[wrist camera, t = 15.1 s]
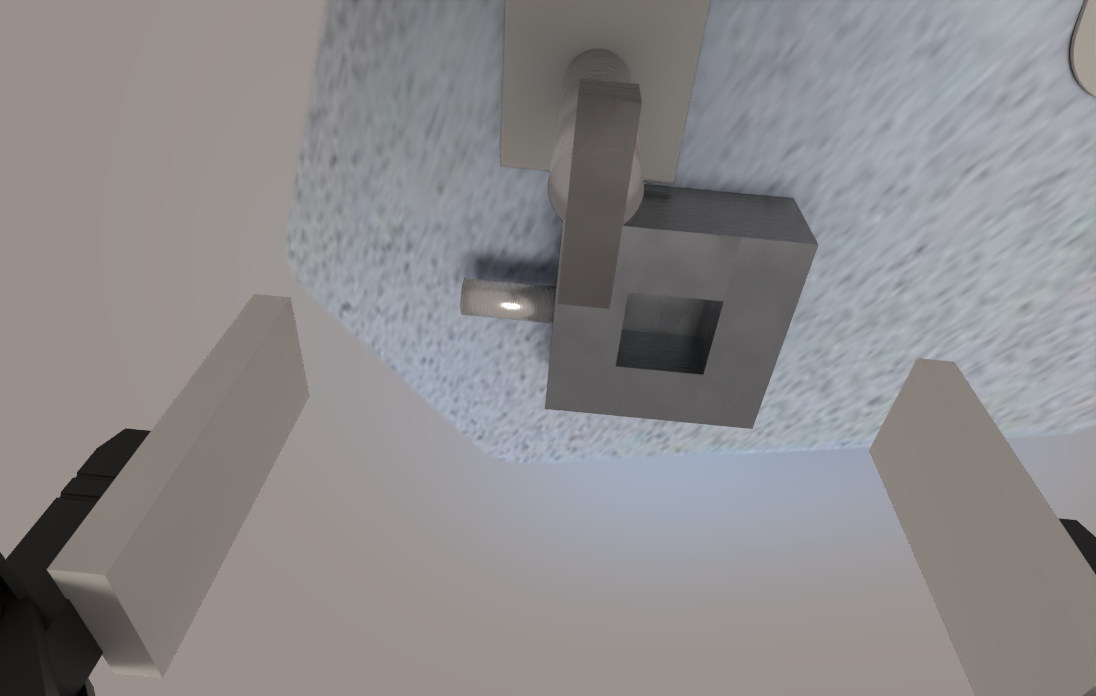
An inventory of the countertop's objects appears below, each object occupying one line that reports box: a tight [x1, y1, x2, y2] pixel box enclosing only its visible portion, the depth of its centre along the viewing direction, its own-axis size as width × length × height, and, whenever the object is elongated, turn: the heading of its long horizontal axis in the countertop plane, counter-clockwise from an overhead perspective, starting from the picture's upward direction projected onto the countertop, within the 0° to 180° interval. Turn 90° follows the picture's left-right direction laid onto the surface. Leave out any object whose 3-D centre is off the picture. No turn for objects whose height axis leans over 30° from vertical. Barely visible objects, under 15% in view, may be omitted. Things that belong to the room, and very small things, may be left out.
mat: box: [500, 0, 710, 183], centre depth 32 cm, size 9×9×1 cm
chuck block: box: [460, 185, 818, 429], centre depth 37 cm, size 12×17×5 cm
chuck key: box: [548, 49, 644, 309], centre depth 26 cm, size 7×3×14 cm, turn 176°
